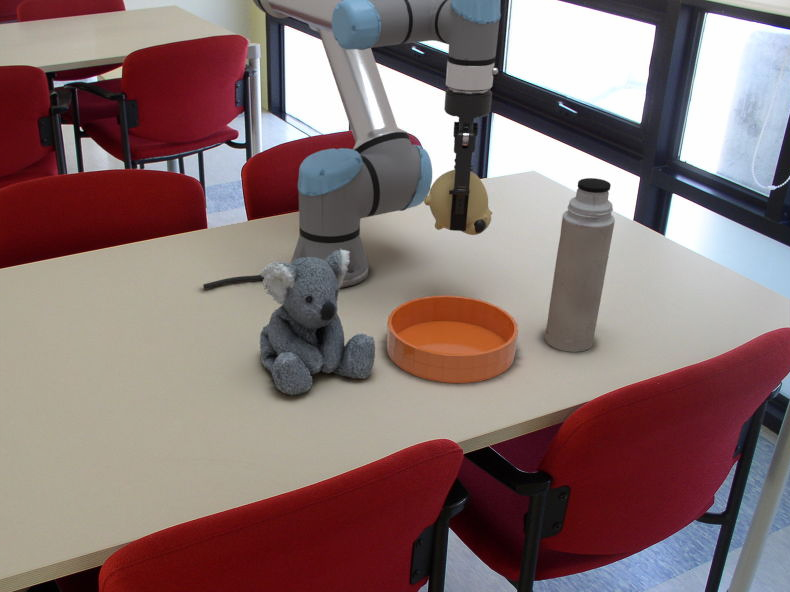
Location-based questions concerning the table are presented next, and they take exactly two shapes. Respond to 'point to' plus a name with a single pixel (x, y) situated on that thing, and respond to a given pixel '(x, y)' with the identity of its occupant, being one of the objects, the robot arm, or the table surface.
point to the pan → (451, 339)
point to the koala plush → (310, 324)
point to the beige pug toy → (443, 202)
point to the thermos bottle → (580, 267)
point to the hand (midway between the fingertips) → (458, 218)
